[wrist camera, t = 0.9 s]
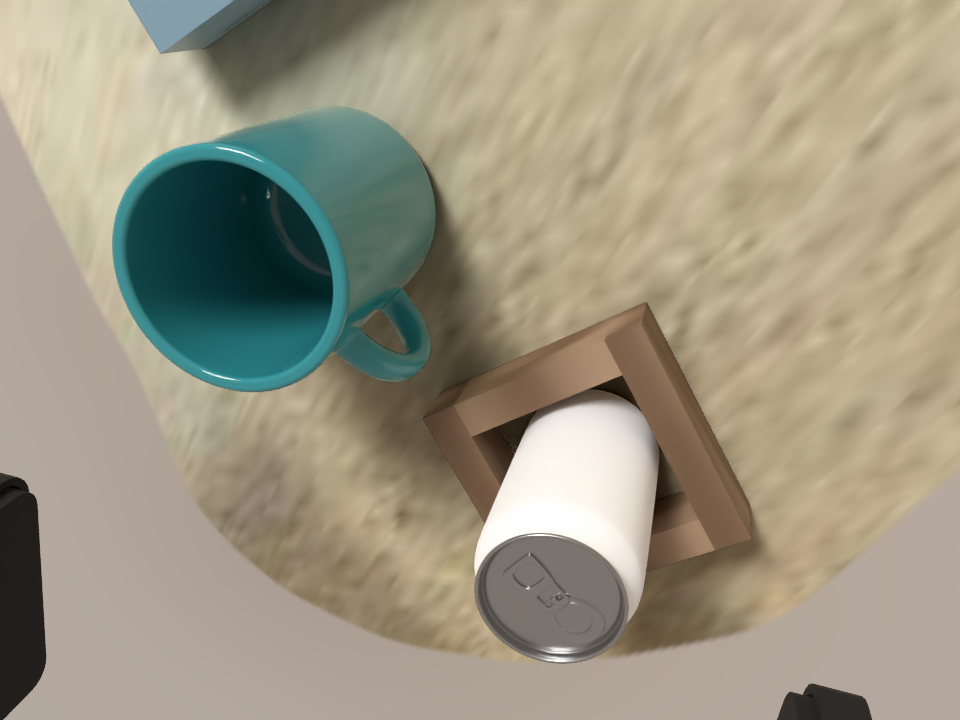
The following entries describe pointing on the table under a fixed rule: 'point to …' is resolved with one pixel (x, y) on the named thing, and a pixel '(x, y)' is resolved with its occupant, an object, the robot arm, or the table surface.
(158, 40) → the tray
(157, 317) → the cup
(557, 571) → the can
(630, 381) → the holder
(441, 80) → the table surface
